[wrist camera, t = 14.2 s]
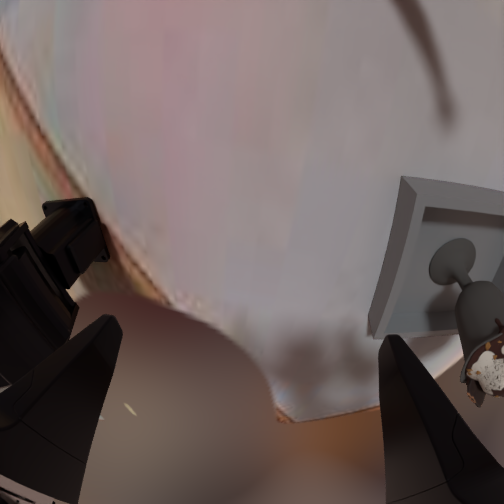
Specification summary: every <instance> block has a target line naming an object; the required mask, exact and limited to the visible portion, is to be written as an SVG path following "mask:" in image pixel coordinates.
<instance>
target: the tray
mask: <svg viewBox="0 0 504 504" xmlns="http://www.w3.org/2000/svg"><path fill="white" fill-rule="evenodd" d="M458 238H465V239H468V240H469V241H471V242H472V243H473V244H474V246H475V249H476V259H475V263H474V265H473V267H472V269H471V270H470V272H469V273H468V275H469V277H470V278H471V280H472V281H473V282H475V281H490V282H492V283H493V284H494V285H495V286H496V287H497V288H498V289H499V290H500V291H501V292H502V293H503V294H504V192H502V191H497V190H492V189H487V188H481V187H476V186H470V185H464V184H458V183H452V182H445V181H438V180H431V179H423V178H415V177H406V176H401V182H400V188H399V194H398V199H397V205H396V210H395V215H394V220H393V224H392V229H391V233H390V238H389V242H388V246H387V250H386V254H385V258H384V262H383V266H382V270H381V273H380V277H379V281H378V284H377V288H376V291H375V294H374V298H373V301H372V304H371V307H370V311H369V314H368V316H369V321H370V326H371V331H372V336H373V340H374V339H384V338H385V336H386V335H388V334H398V335H400V336H401V338H417V337H431V336H443V335H454V334H459V332H458V328H457V323H456V317H455V305H456V302H457V299H458V296H459V294H460V293H461V291H462V290H461V288H460V286H459V284H458V283H457V282H456V283H453V284H451V285H439V284H437V283H435V282H434V281H433V280H432V279H431V277H430V274H429V267H430V263H431V260H432V258H433V256H434V255H435V253H436V252H437V250H438V249H439V248H440V247H442V246H443V245H444V244H445V243H447V242H449V241H451V240H454V239H458Z"/></svg>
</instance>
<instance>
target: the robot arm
mask: <svg viewBox="0 0 504 504" xmlns="http://www.w3.org/2000/svg"><path fill="white" fill-rule="evenodd" d="M86 203H87V204H88V205H87V204H86ZM42 208H43V211H44V214H45V217H46V218H45V219H44V220H42V221H41V222H40V223H39V224H38V225H37V226H36V227H35V228H34V229H32V230H31V231H29V229H28V228H29V227H28V225H27V223H26V221H25V222H23V223H21V224H19V225H18V223H16V222H15V221H13V220H12V219H10V220H8V221H7V222H6V223H5V224H3V225H2V226H1V227H0V389H1V388H5V387H9V386H10V387H9V388H7V389H6V390H4V391H3V392H1V393H0V504H55V502H54V501H53V499H54V498H55V499H57V500H60V501H63V502H67V503H69V504H78V500H79V495H80V491H81V486H82V481H83V477H84V473H85V468H86V463H87V460H88V456H89V452H90V448H91V444H92V441H93V437H94V434H95V430H96V427H97V423H98V420H99V416H100V413H101V410H102V407H103V403H104V400H105V397H106V394H107V391H108V388H109V385H110V382H111V379H112V376H113V373H114V369H115V364H116V361H117V357H118V352H119V348H120V344H121V340H122V336H123V333H122V329H121V327H120V325H119V323H118V321H117V319H116V317H115V316H113V315H108V314H104V315H102V316H101V317H99V318H98V319H97V320H95V321H94V322H93V323H92V324H90V325H89V326H87V327H86V328H85V329H83V330H82V331H81V332H80V333H78V334H77V335H76V336H74V337H73V338H72V339H70V340H69V338H70V335H71V332H72V329H73V326H74V322H75V319H76V316H77V313H78V310H79V306H78V305H77V303H76V302H74V301H73V299H72V298H71V297H70V295H69V294H68V292H67V291H66V289H70V288H71V287H72V285H73V284H74V283H75V281H76V280H77V279H78V277H79V276H80V275H81V274H83V273H84V272H85V271H86V270H87V268H88V267H89V266H90V265H91V263H92V262H93V261H94V262H107V261H108V260H109V259H110V255H109V252H108V249H107V246H106V244H105V241H104V238H103V235H102V232H101V229H100V226H99V222H98V219H97V216H96V213H95V209H94V206H93V203H92V200H91V199H90V198H88V197H85V198H74V199H64V200H55V201H46V202H45V203H43V205H42ZM104 256H105V257H104ZM378 362H379V400H380V410H381V419H382V430H383V441H384V457H385V480H386V481H385V482H386V504H504V468H503V467H502V466H501V465H500V464H499V463H498V462H497V461H496V459H495V458H494V457H493V456H492V455H491V453H490V452H489V451H488V450H487V449H486V448H485V446H484V445H483V444H482V443H481V442H480V441H479V439H478V438H477V437H476V436H475V434H473V432H472V431H471V429H470V428H469V426H468V425H467V424H466V422H465V421H464V420H463V418H462V417H461V415H460V414H459V413H458V412H457V410H456V409H455V407H454V406H453V404H452V403H451V402H450V400H449V399H448V398H447V396H446V395H445V393H444V392H443V391H442V389H441V388H440V387H439V385H438V384H437V383H436V381H435V380H434V379H433V377H432V376H431V375H430V373H429V372H428V371H427V369H426V368H425V367H424V365H423V364H422V363H421V362H420V360H419V359H418V358H417V356H416V355H415V354H414V353H413V351H412V350H411V349H410V348H409V346H408V345H407V344H406V343H405V341H404V340H403V339H402V338H401V336H400V335H398V334H388V335H386V336H385V338H384V340H383V343H382V345H381V347H380V349H379V353H378ZM457 413H458V414H457Z"/></svg>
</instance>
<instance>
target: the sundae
mask: <svg viewBox="0 0 504 504" xmlns="http://www.w3.org/2000/svg"><path fill="white" fill-rule="evenodd" d="M475 259H476V249H475V246H474V244H473V243H472V242H471V241H469V240H468V239H465V238H458V239H454V240H451V241H449V242H447V243H445V244H444V245H443V246H442V247H440V248H439V249H438V250H437V252H436V253H435V255H434V256H433V258H432V260H431V263H430V267H429V274H430V277H431V279H432V280H433V281H434V282H435V283H437V284H439V285H451V284H453V283H456V282H457V283H458V284H459V286H460V288H461V290H462V291H461V293H460V294H459V296H458V299H457V302H456V305H455V317H456V323H457V328H458V332H459V336H460V340H461V344H462V349H463V354H464V360H465V364H464V366H463V369H462V371H461V376H460V382H461V383H466V385H467V395H468V397H469V398H470V399H471V401H472V402H473V403H475V404H476V406H477V407H481V405H482V403H483V401H484V398H485V395H486V394H488V395H490V396H493V397H504V294H503V293H502V292H501V291H500V290H499V289H498V288H497V287H496V286H495V285H494V284H493V283H492V282H490V281H475V282H473V281H472V280H471V278H470V277H469V275H468V273H469V272H470V270H471V269H472V267H473V265H474V263H475Z"/></svg>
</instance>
